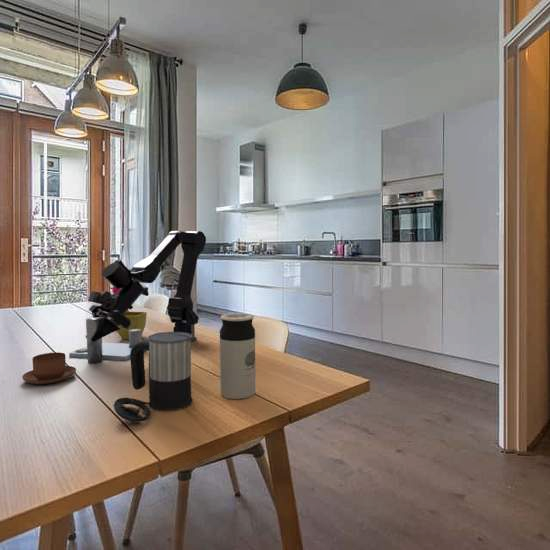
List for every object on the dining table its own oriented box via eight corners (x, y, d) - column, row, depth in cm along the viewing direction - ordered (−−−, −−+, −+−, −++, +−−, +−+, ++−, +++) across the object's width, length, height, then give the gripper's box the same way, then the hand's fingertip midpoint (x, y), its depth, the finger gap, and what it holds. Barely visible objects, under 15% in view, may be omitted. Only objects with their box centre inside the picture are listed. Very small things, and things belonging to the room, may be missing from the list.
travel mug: (213, 393, 94) (212, 315, 92) (240, 385, 99) (239, 311, 98) (235, 403, 88) (234, 320, 87) (262, 393, 94) (262, 315, 92)
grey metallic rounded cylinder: (105, 359, 121) (103, 317, 120) (97, 363, 117) (95, 320, 116) (93, 358, 122) (91, 317, 121) (84, 362, 118) (82, 319, 117)
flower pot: (148, 335, 154) (147, 311, 153) (138, 340, 145) (137, 315, 145) (125, 334, 155) (124, 311, 154) (114, 340, 146) (113, 315, 146)
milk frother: (196, 395, 93) (195, 330, 92) (183, 426, 77) (181, 349, 76) (133, 396, 93) (131, 331, 91) (106, 427, 77) (104, 349, 76)
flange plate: (149, 348, 134) (149, 329, 134) (125, 360, 121) (124, 339, 120) (98, 345, 138) (97, 327, 138) (69, 356, 125) (68, 336, 124)
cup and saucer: (28, 375, 108) (27, 352, 107) (78, 370, 112) (77, 348, 111) (17, 391, 96) (16, 365, 96) (73, 384, 101) (72, 360, 100)
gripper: (94, 278, 127) (57, 318, 121) (118, 282, 114) (78, 327, 107) (120, 301, 133) (86, 340, 127) (146, 307, 120) (109, 351, 113)
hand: (89, 339), depth 118 cm, fingers closed on grey metallic rounded cylinder, 4 cm apart
